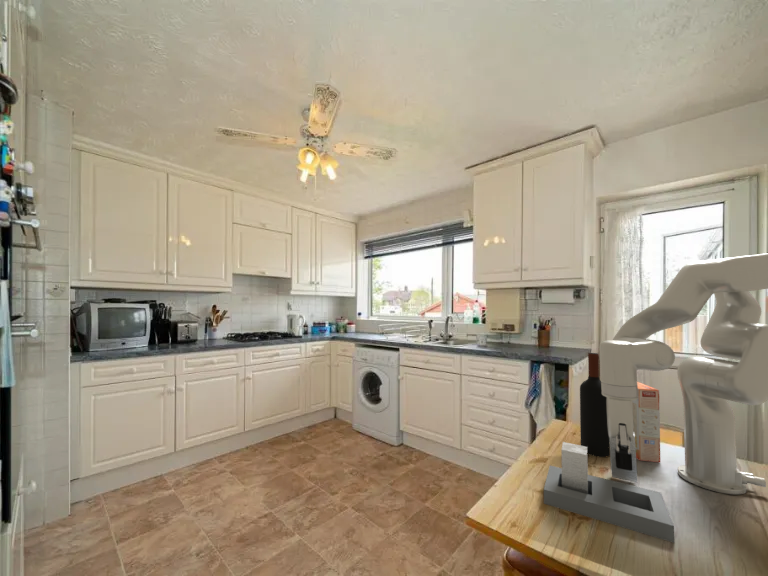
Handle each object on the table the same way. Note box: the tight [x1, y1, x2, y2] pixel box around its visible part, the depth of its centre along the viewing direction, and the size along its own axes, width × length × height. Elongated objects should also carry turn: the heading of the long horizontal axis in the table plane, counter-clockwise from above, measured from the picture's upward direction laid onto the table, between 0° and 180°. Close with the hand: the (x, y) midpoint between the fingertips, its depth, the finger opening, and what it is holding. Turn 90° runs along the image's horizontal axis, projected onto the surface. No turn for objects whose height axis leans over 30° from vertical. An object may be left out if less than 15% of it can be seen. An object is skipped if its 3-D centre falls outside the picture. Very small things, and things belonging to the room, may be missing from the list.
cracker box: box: [632, 381, 661, 463], centre depth 102 cm, size 14×6×21 cm, turn 168°
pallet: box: [543, 465, 675, 543], centre depth 73 cm, size 22×13×4 cm, turn 58°
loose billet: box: [609, 432, 638, 484], centre depth 82 cm, size 5×5×11 cm
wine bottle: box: [579, 352, 610, 458], centre depth 102 cm, size 8×8×30 cm
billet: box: [561, 441, 589, 494], centre depth 76 cm, size 5×5×11 cm
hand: (623, 463), depth 82 cm, fingers closed on loose billet, 5 cm apart
